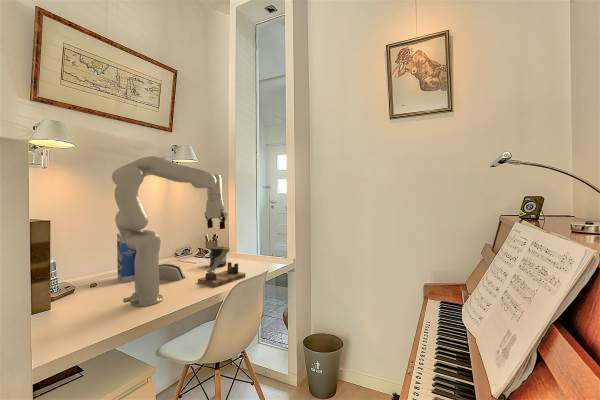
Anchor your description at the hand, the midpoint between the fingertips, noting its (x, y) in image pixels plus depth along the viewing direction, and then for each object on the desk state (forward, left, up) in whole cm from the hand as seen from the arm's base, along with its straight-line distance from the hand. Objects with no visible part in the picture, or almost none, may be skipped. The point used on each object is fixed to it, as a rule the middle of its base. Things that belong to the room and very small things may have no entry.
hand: (216, 228), depth 161 cm
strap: (+1, -1, -18) cm, 18 cm away
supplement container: (+24, +26, -29) cm, 46 cm away
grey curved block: (-12, +26, -29) cm, 41 cm away
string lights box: (-25, +45, -29) cm, 59 cm away
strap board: (+3, -1, -29) cm, 29 cm away
